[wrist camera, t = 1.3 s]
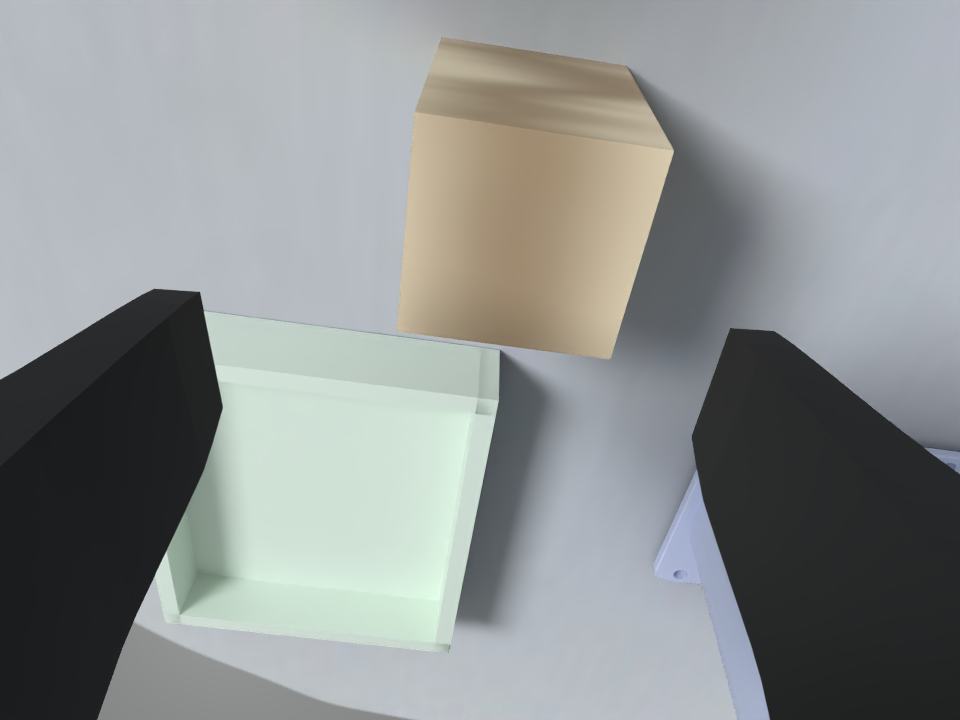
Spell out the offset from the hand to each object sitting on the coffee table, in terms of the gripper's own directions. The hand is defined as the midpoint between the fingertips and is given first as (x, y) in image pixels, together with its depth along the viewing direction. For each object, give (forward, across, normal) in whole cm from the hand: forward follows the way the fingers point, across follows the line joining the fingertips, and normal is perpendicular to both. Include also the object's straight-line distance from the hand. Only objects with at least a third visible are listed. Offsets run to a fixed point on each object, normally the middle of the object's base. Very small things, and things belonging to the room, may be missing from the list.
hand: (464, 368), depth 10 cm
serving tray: (+10, +5, +13) cm, 17 cm away
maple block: (+10, -1, 0) cm, 10 cm away
